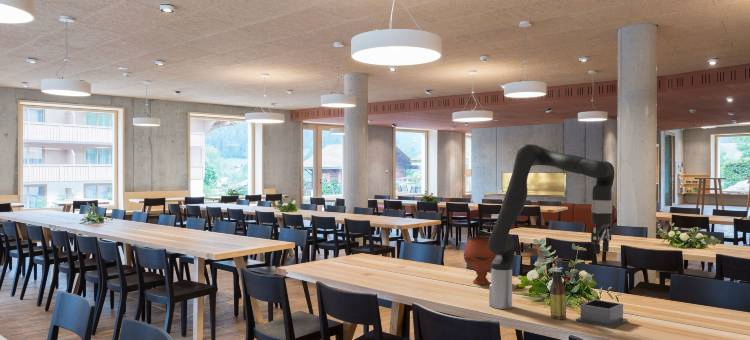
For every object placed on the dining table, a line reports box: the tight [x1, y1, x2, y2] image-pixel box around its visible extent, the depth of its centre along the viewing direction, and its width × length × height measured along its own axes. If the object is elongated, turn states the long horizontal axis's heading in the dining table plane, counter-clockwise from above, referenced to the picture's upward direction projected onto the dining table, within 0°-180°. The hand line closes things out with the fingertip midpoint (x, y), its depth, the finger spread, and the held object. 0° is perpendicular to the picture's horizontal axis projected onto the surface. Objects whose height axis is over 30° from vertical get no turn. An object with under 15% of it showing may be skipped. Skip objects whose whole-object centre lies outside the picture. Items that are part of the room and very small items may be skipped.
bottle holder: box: [575, 298, 629, 329], centre depth 226 cm, size 15×15×7 cm
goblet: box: [463, 235, 496, 285], centre depth 302 cm, size 19×19×25 cm
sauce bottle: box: [549, 269, 567, 321], centre depth 231 cm, size 6×6×20 cm
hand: (601, 252), depth 219 cm, fingers open, 8 cm apart
